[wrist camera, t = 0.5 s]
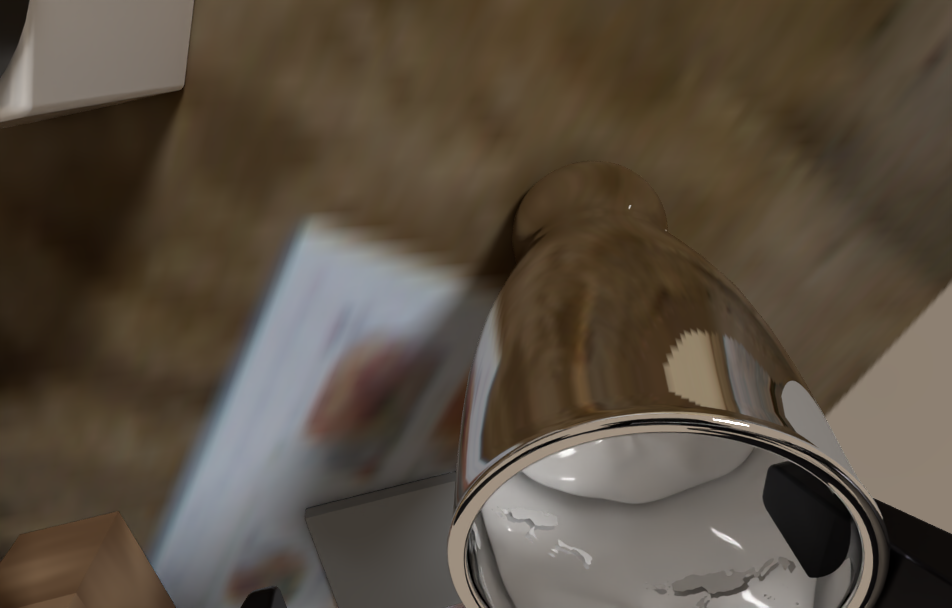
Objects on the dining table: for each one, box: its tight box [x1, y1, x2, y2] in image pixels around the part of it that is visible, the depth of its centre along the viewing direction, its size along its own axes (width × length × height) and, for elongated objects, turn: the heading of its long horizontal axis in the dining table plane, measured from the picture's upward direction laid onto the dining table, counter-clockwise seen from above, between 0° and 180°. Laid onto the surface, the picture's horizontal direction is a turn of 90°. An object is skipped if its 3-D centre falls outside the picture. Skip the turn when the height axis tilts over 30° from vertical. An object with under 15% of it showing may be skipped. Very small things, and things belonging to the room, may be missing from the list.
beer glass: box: [447, 161, 890, 608], centre depth 15 cm, size 7×7×15 cm
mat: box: [305, 472, 462, 608], centre depth 28 cm, size 9×9×1 cm
